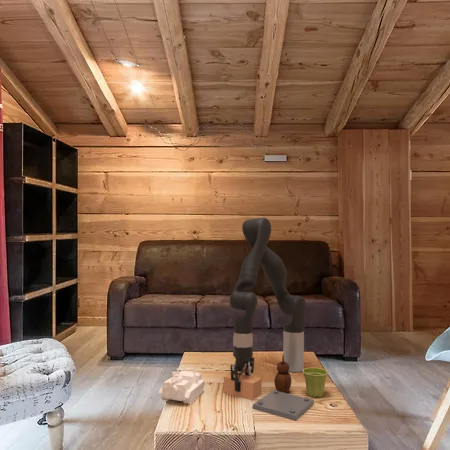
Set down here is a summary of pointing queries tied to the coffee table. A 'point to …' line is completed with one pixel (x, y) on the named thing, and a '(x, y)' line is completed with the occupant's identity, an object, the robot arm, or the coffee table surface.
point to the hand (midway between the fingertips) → (242, 388)
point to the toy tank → (183, 386)
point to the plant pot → (315, 381)
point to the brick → (244, 386)
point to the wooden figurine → (282, 377)
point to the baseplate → (283, 404)
